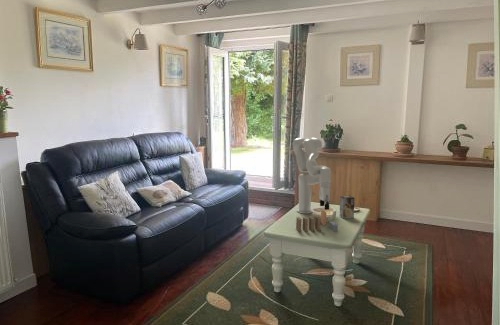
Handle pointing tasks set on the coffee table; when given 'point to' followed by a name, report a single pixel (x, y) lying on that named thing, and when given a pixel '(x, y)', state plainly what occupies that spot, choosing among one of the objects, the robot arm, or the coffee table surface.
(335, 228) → the stop block
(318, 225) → the domino
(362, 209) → the coffee table surface
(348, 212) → the coffee box
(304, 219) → the domino
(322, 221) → the domino
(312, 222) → the domino
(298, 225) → the domino
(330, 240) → the coffee table surface
